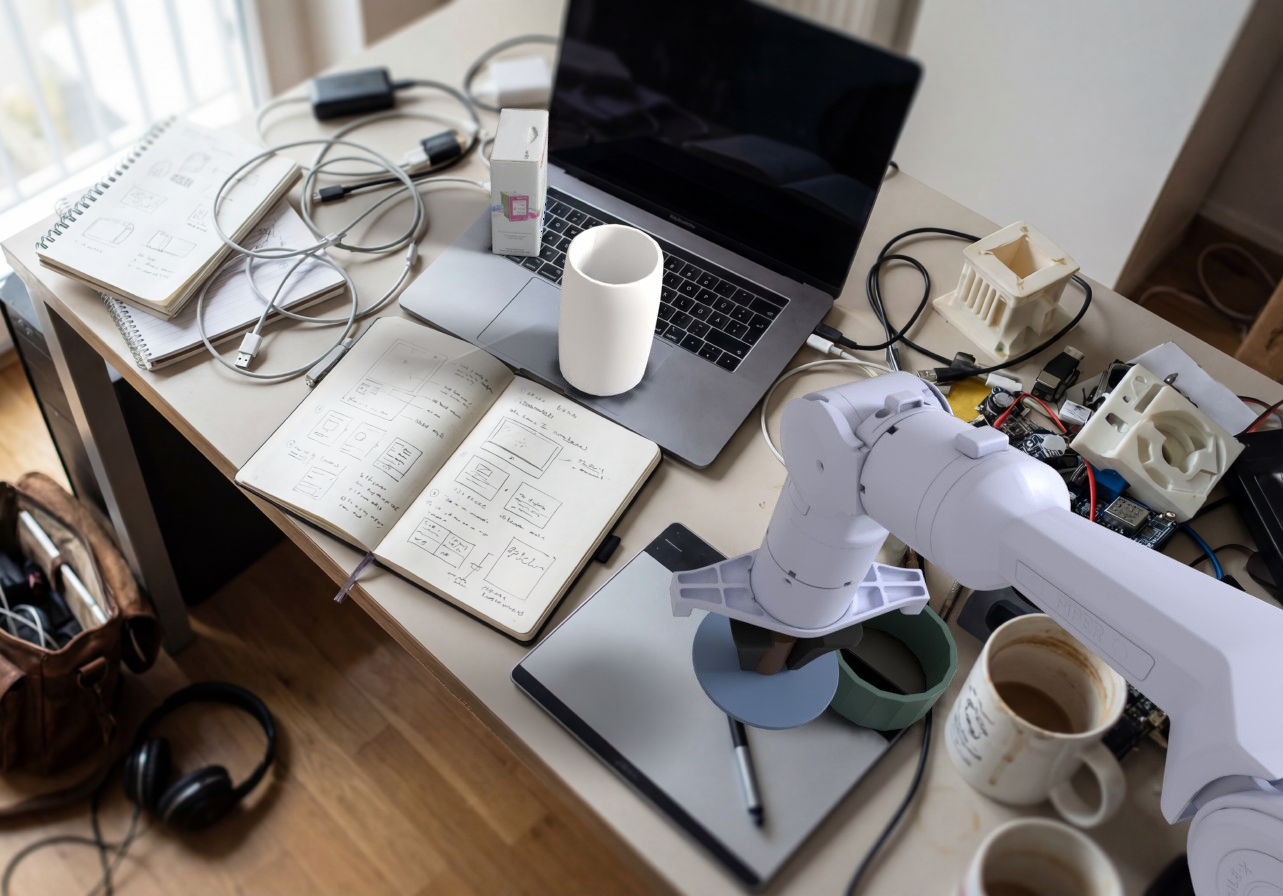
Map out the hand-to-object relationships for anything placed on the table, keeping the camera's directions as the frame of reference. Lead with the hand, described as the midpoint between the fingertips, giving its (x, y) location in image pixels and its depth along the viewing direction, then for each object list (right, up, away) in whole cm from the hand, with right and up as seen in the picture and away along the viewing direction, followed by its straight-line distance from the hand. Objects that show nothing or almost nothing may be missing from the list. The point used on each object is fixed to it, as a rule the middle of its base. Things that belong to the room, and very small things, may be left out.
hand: (767, 656), depth 66 cm
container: (+10, -3, +8) cm, 13 cm away
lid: (0, -1, +1) cm, 1 cm away
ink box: (-15, +36, +40) cm, 56 cm away
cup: (-8, +20, +27) cm, 35 cm away
